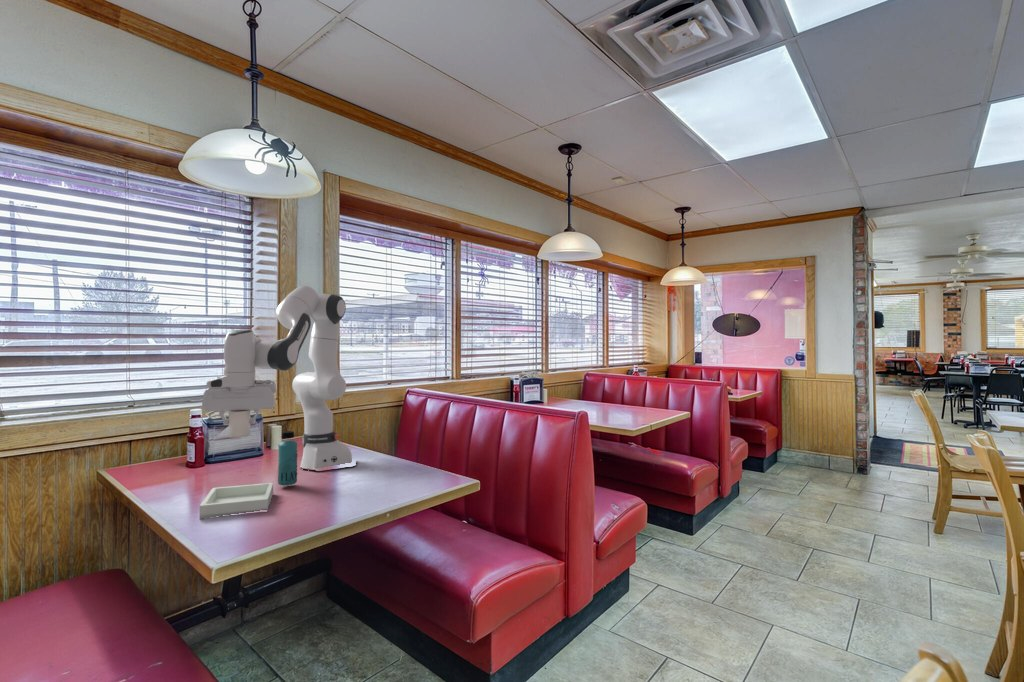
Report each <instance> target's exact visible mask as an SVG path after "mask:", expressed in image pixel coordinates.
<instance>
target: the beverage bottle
mask: <svg viewBox="0 0 1024 682" xmlns="http://www.w3.org/2000/svg"><path fill="white" fill-rule="evenodd" d="M294 437H295V432H294V431H293V430H285V431H282V432H281V439H286V440H282V441H280V442H279V443H278V448H277V449H278V456H277V457H278V460H277V461H278V463H277V464H278V465H277V483H278V484H277V485H279V486H284V487H285V486H286V487H287V486H292V485H295V484H297V483H298V482H297V481H298V452H299V451H298V442H297V441H295V439H292V438H294Z"/></svg>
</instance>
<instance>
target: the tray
mask: <svg viewBox="0 0 1024 682" xmlns="http://www.w3.org/2000/svg"><path fill="white" fill-rule="evenodd" d="M272 494H273V495H274V482H265V483H254V484H244V485H243V484H242V485H233V486H232V485H229V486H219V487H218V486H217V487H212V488H211V489H210V491H209V492H208V494H207V495H206V496H205V498H204V499H203V500H202V502H201V503H200V504H199V520H203V519H202V518H208V519H211V518H210V517H216V516H223V515H231V514H239V513H246V512H254V511H260V510H268V511H269V509H268V506H269V504H270V505H271V503H270V501H271V502H272V500H271V498H272V499H273V497H272ZM269 507H270V506H269Z"/></svg>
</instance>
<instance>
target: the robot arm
mask: <svg viewBox="0 0 1024 682" xmlns="http://www.w3.org/2000/svg"><path fill="white" fill-rule="evenodd" d="M346 309H347V305H346V302H345V300H344V298H343V297H342V296H340V295H337V294H334V293H333V294H329V293H328V294H327V293H323V292H322V293H321V292H319V293H318V292H317V291H316V290H315V289H314V288H312V287H310V286H308V285H301V286H298V287H296V288H295V289H293V290H291V292H289V293H288V294H287V295H286V296H285V297H284V298H283V299H282V301H281V302H280V303H279V304H278V306H277V308H276V310H275V311H276V312H275V314H276V319H277V321H278V322H279V323H280V324H281V326H282V327H284V328H285V329H287V330H289V332H288V333H287V335H286V337H284V338H282V339H278V340H277V339H275V340H272V339H271V340H268V339H261V338H259V337H257V336H256V335H255V333H254V331H253V330H252V329H236V330H231V331H229V332H227V334H226V335H225V340H224V344H223V345H224V346H223V360H224V369H223V376H217V377H216V378H212V379H210V380H208V381H207V382H206V387H207V389H205V391H204V392H203V395H202V401H201V408H202V410H203V412H219V413H218V415H219V417H220V418H221V419H222V421H223V424H222V425H223V426H229V418H227V417H226V415H225V414H226V412H227V411H228V412H229V411H231V410H250V411H252V410H253V414H254V415H253V417H250V425H255V424H256V422H257V421H256V418H257V417H258V415H259V414H260V410H272V409H273V408H274V407H275V406H276V397H275V393H276V391H277V384H276V383H275V381H272V380H269V379H266V380H261V379H258V380H256V369H257V370H259V369H261V370H276V371H289V370H290V369H292V368H293V367H294V366H295V364H296V363H297V361H298V359H299V355H300V351H301V348H302V346H303V345H304V343H305V340H306V339H307V336H308V334H309V332H310V328H311V333H310V337H309V338H310V340H309V347H308V358H309V360H310V361H311V362H312V364H313V365H312V366H313V369H314V371H306V372H302V373H299V374H297V375H296V376H295V377H294V378H293V380H292V384H291V385H292V387H291V388H292V390H293V392H294V393H295V394H296V396H297V397H298V399H299V401H300V404H301V407H302V411H303V421H304V422H303V425H304V426H303V429H304V432H303V434H302V447H303V450H302V458H301V461H300V466H299V468H300V467H302V468H310V469H316V470H319V468H323V467H328V466H334V465H340V464H345V463H351V462H352V458H353V454H352V450H351V448H350V447H349V446H347V445H346V444H344V442H341V441H340V440H339V438H340V434H339V433H338V432H337V431H334V426H333V425H334V413H333V411H332V410H331V409H330V408H329V406H328V404H327V402H326V401H332V400H337V399H340V398H342V397H343V396H344V394H345V393H346V391H347V383H346V380H345V378H344V377H343V376H342V375H341V372H340V369H339V366H338V348H339V339H340V325H339V324H340V323H339V322H340V321H341V320H342V319H343V318H344V316H345V314H346V311H347V310H346ZM311 321H313V325H312V322H311ZM311 326H312V327H311Z"/></svg>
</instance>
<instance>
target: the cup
mask: <svg viewBox="0 0 1024 682" xmlns="http://www.w3.org/2000/svg"><path fill="white" fill-rule="evenodd" d="M250 418H251V410H231V411H228V419H229V425H228V438H234V439H235V438H237V439H239V438H246V437H250V436H251V424H250Z"/></svg>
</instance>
